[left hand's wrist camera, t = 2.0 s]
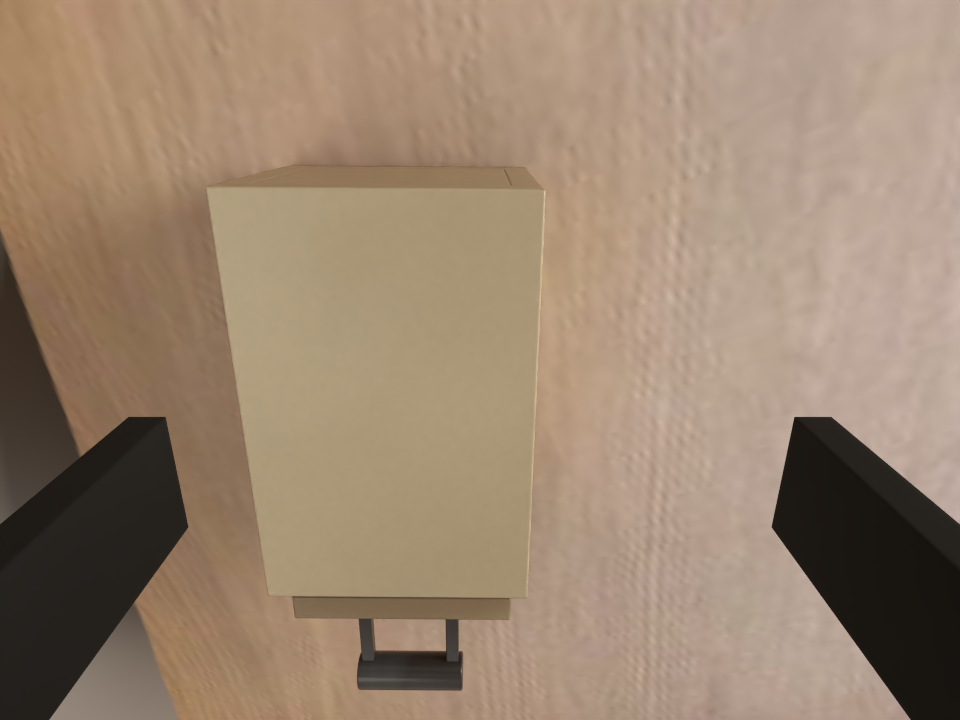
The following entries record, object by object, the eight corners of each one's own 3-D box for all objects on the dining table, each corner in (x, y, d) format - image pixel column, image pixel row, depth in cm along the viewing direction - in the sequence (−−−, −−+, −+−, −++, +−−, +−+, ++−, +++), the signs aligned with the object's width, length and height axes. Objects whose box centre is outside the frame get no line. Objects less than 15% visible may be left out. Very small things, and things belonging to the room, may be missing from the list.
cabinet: (515, 477, 34) (527, 599, 25) (321, 476, 34) (267, 596, 25) (526, 167, 28) (546, 189, 19) (289, 165, 28) (204, 186, 19)
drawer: (502, 608, 36) (507, 719, 29) (340, 607, 36) (308, 718, 29) (512, 249, 28) (521, 289, 22) (304, 247, 28) (249, 287, 22)
